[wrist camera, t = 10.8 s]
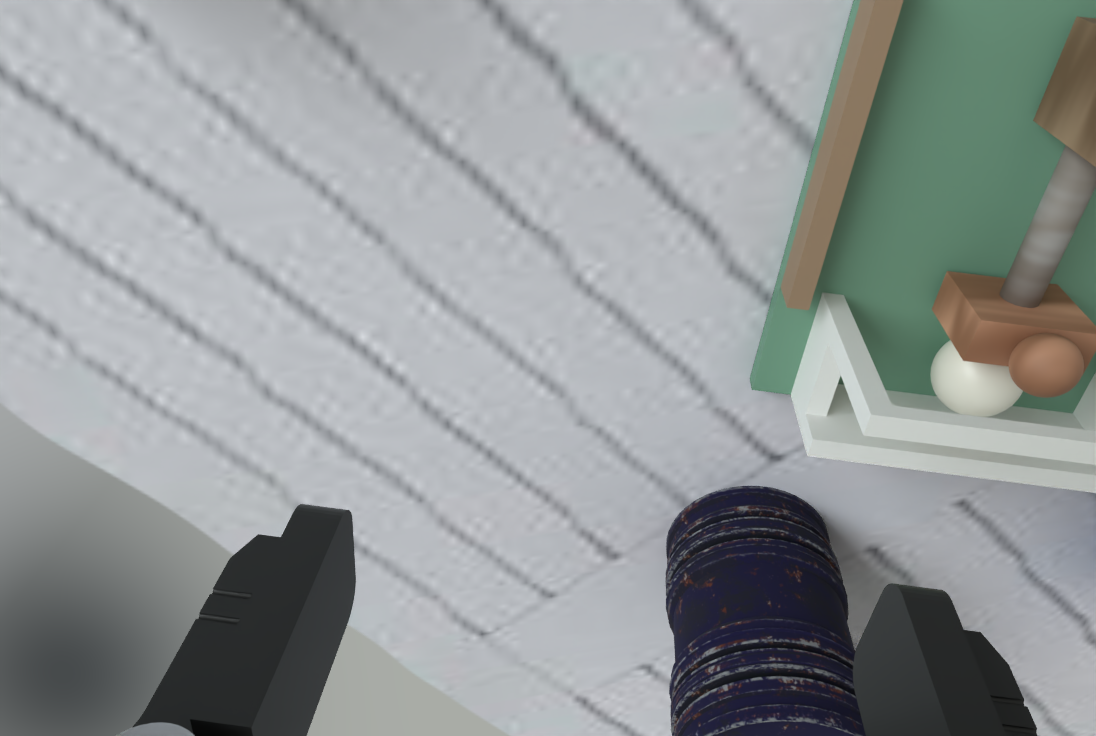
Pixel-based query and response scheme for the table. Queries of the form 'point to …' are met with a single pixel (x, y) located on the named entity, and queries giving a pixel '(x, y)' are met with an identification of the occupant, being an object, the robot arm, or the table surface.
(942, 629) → the robot arm
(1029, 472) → the pitch
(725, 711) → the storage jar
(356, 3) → the table surface
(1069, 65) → the kicker
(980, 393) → the ball
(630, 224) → the table surface
